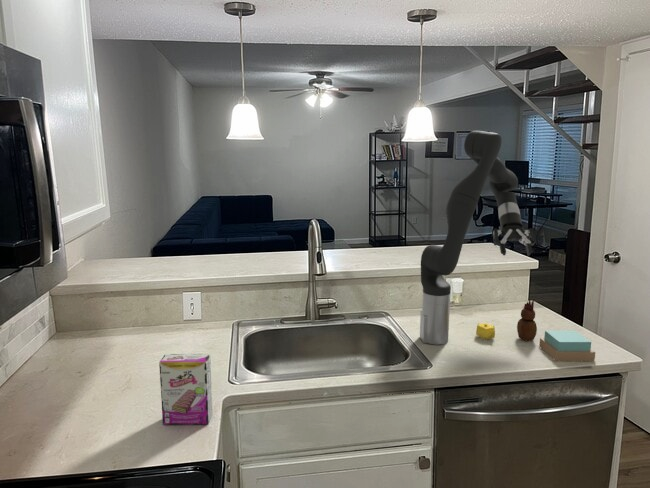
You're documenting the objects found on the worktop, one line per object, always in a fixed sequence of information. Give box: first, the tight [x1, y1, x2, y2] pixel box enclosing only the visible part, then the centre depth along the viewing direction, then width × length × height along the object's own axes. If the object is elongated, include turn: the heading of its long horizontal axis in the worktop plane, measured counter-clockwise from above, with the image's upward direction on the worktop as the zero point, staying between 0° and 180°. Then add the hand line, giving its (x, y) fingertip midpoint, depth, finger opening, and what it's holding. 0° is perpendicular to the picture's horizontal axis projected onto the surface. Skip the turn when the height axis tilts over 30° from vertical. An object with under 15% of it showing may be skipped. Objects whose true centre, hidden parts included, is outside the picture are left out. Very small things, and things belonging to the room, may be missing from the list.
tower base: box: [538, 330, 596, 362], centre depth 157 cm, size 12×12×6 cm
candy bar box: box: [158, 353, 213, 426], centre depth 117 cm, size 11×5×16 cm, turn 92°
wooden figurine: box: [516, 299, 538, 343], centre depth 168 cm, size 7×6×15 cm
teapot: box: [475, 323, 496, 341], centre depth 171 cm, size 8×6×5 cm
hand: (516, 254), depth 174 cm, fingers open, 8 cm apart
